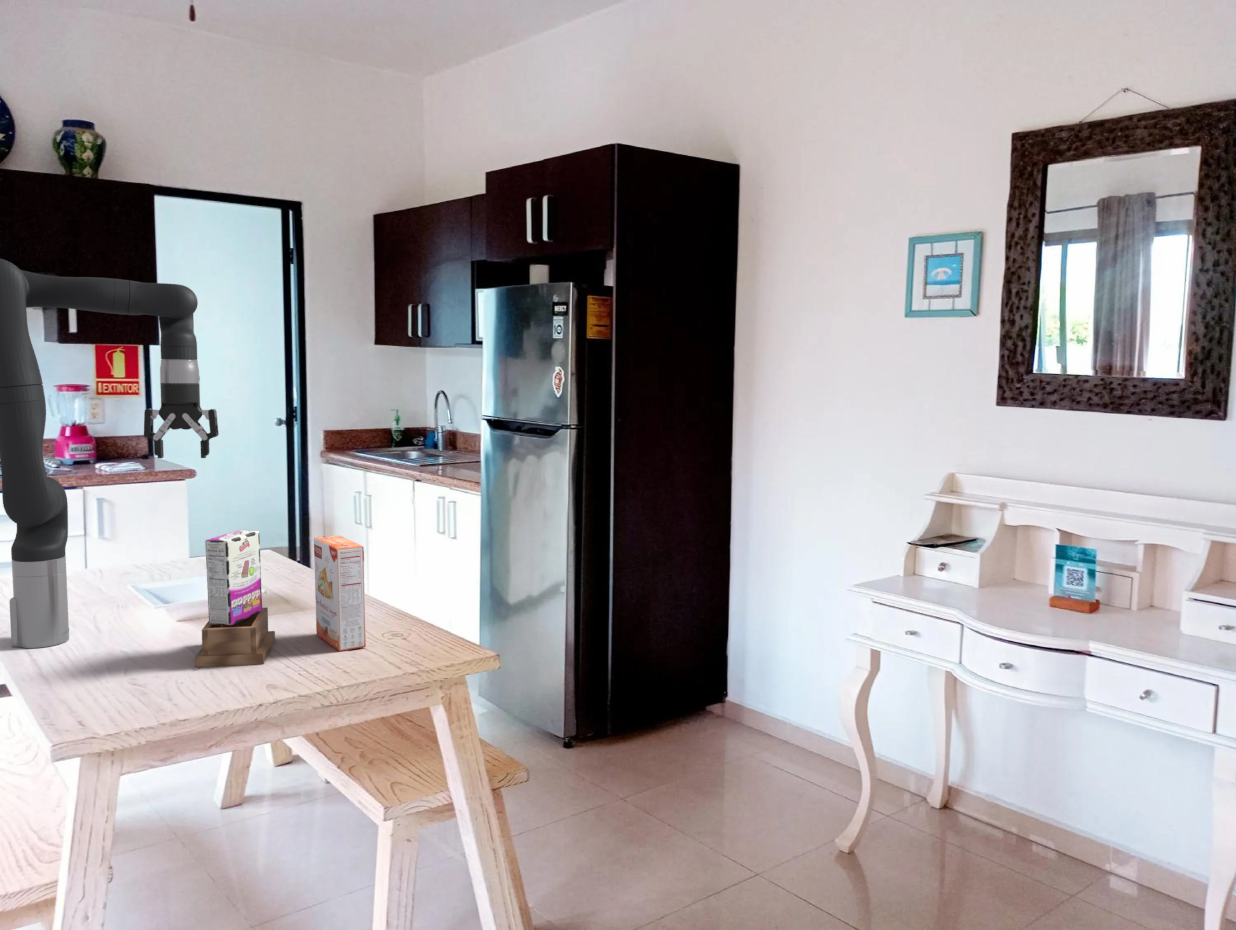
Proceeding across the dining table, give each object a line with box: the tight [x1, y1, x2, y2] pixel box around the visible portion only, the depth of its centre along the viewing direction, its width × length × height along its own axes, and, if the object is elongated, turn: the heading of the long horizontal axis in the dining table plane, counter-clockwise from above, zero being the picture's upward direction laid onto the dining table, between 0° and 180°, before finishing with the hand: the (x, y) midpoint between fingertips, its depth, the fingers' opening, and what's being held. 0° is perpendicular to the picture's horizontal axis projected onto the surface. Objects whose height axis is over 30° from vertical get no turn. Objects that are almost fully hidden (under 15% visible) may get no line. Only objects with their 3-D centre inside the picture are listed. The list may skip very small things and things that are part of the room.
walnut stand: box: [194, 607, 276, 668], centre depth 188 cm, size 12×16×7 cm
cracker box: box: [313, 534, 367, 652], centre depth 196 cm, size 14×6×21 cm, turn 35°
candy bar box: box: [204, 529, 263, 625], centre depth 187 cm, size 11×5×16 cm, turn 169°
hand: (182, 457), depth 205 cm, fingers open, 8 cm apart
